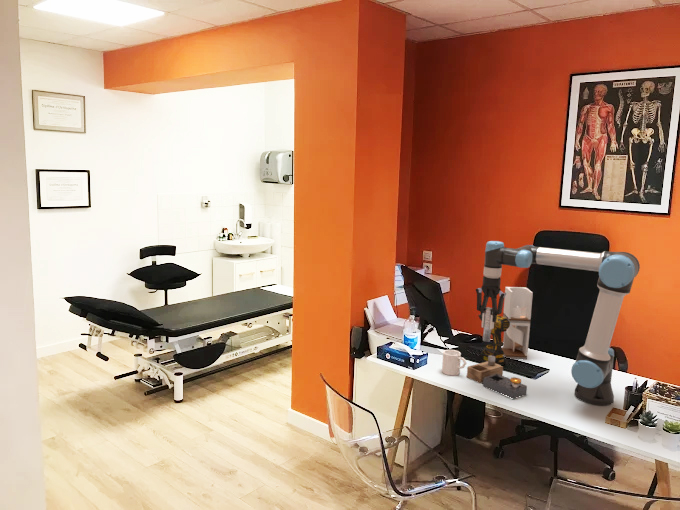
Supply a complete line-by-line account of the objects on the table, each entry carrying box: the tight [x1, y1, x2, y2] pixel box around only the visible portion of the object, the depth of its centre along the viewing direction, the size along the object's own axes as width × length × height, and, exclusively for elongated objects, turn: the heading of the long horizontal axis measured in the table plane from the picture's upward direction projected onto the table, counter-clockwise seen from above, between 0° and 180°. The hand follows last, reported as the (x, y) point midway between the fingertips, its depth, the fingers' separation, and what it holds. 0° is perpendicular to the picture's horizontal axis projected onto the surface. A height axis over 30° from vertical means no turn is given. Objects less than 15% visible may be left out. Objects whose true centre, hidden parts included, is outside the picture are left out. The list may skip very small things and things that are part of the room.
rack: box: [466, 355, 504, 384], centre depth 248 cm, size 8×15×9 cm, turn 124°
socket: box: [482, 374, 528, 399], centre depth 233 cm, size 16×9×4 cm, turn 34°
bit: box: [482, 306, 493, 343], centre depth 239 cm, size 3×3×15 cm
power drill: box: [478, 313, 510, 365], centre depth 265 cm, size 8×19×25 cm, turn 31°
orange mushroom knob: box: [509, 377, 522, 388], centre depth 229 cm, size 4×4×6 cm
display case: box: [501, 286, 534, 361], centre depth 275 cm, size 11×11×35 cm
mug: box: [441, 349, 467, 376], centre depth 251 cm, size 8×12×10 cm
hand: (487, 327), depth 239 cm, fingers closed on bit, 3 cm apart
